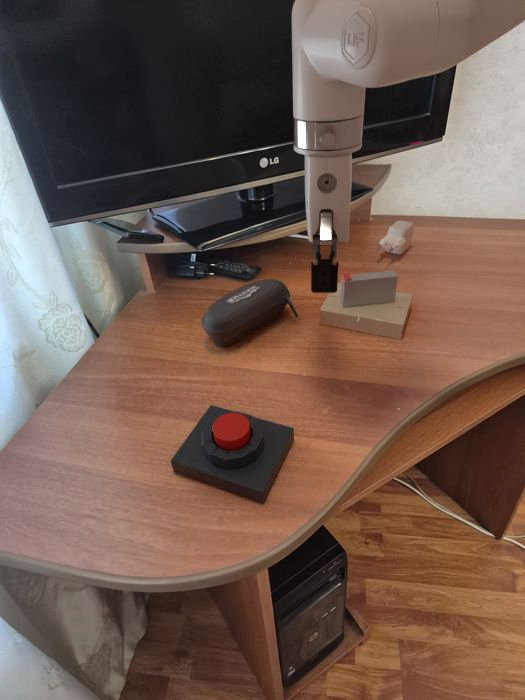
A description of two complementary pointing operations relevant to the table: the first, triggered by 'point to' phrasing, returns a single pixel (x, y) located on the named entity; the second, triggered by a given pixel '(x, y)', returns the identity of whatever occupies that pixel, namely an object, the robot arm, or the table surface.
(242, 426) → the button
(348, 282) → the grey red-tipped bar
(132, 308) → the table surface
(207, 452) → the switch block
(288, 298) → the glasses case
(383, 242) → the power adapter
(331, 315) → the base
